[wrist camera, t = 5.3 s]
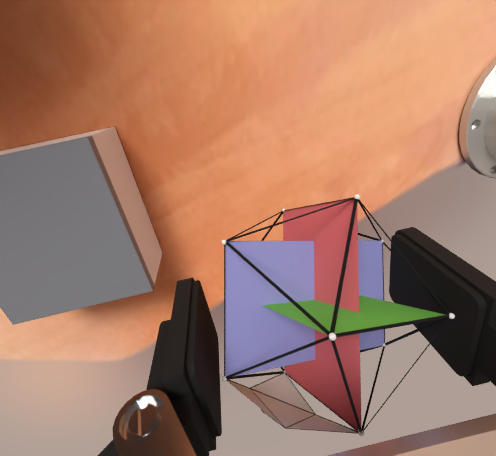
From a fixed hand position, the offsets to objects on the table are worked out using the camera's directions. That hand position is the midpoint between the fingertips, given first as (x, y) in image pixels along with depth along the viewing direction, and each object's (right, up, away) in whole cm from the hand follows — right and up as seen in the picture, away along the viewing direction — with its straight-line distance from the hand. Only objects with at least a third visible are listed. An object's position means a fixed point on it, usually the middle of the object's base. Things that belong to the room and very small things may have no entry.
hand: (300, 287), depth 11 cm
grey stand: (-17, +4, +15) cm, 23 cm away
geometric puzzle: (-1, +1, +2) cm, 3 cm away
